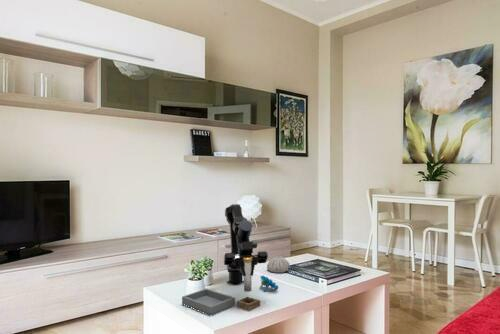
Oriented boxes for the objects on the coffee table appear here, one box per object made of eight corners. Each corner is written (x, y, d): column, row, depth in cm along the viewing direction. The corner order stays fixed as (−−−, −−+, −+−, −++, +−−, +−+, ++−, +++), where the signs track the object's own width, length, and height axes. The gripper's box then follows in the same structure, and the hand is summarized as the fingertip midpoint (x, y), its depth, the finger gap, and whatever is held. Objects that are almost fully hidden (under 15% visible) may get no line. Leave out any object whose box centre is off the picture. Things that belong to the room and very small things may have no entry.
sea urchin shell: (293, 273, 199) (293, 259, 199) (269, 274, 196) (269, 260, 196) (286, 267, 212) (286, 253, 212) (264, 268, 209) (264, 254, 209)
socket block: (236, 307, 150) (236, 301, 150) (247, 302, 155) (247, 296, 155) (249, 311, 145) (249, 305, 145) (260, 306, 151) (260, 300, 151)
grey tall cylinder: (241, 290, 150) (241, 257, 150) (247, 288, 153) (247, 255, 153) (248, 292, 147) (248, 259, 147) (254, 290, 150) (254, 257, 150)
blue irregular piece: (283, 288, 168) (269, 275, 166) (276, 299, 166) (262, 286, 163) (270, 285, 178) (257, 272, 175) (264, 295, 175) (250, 282, 173)
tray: (182, 304, 152) (182, 296, 152) (206, 296, 163) (206, 288, 163) (210, 316, 141) (210, 307, 141) (234, 305, 151) (234, 297, 151)
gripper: (224, 234, 152) (227, 267, 142) (266, 233, 156) (273, 264, 145) (222, 248, 160) (225, 280, 149) (262, 247, 164) (268, 278, 153)
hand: (248, 275), depth 149 cm, fingers closed on grey tall cylinder, 3 cm apart
